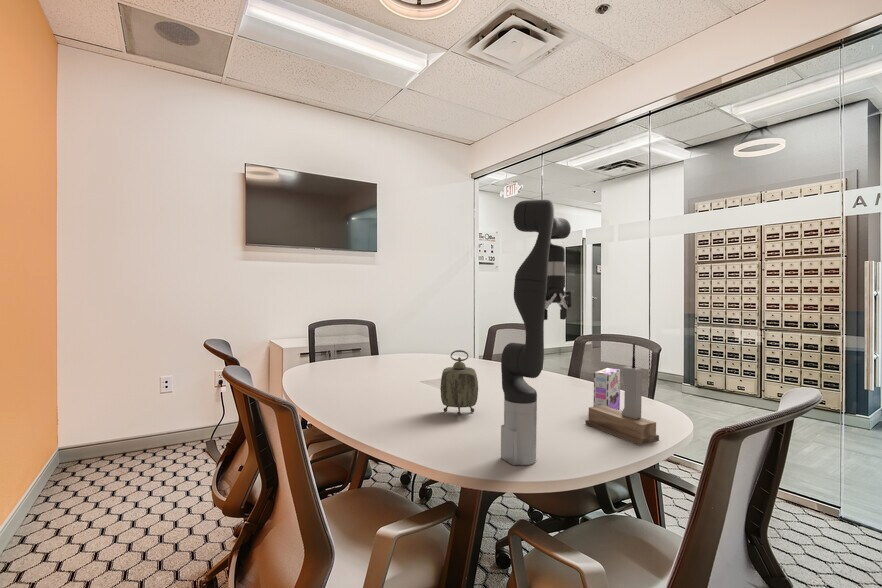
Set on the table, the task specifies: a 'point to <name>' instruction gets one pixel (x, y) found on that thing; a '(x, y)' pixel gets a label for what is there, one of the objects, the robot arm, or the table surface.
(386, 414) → the table surface
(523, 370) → the robot arm
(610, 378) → the candy box
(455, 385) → the tabletop clock
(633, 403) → the vintage mobile phone
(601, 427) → the walnut ridge
